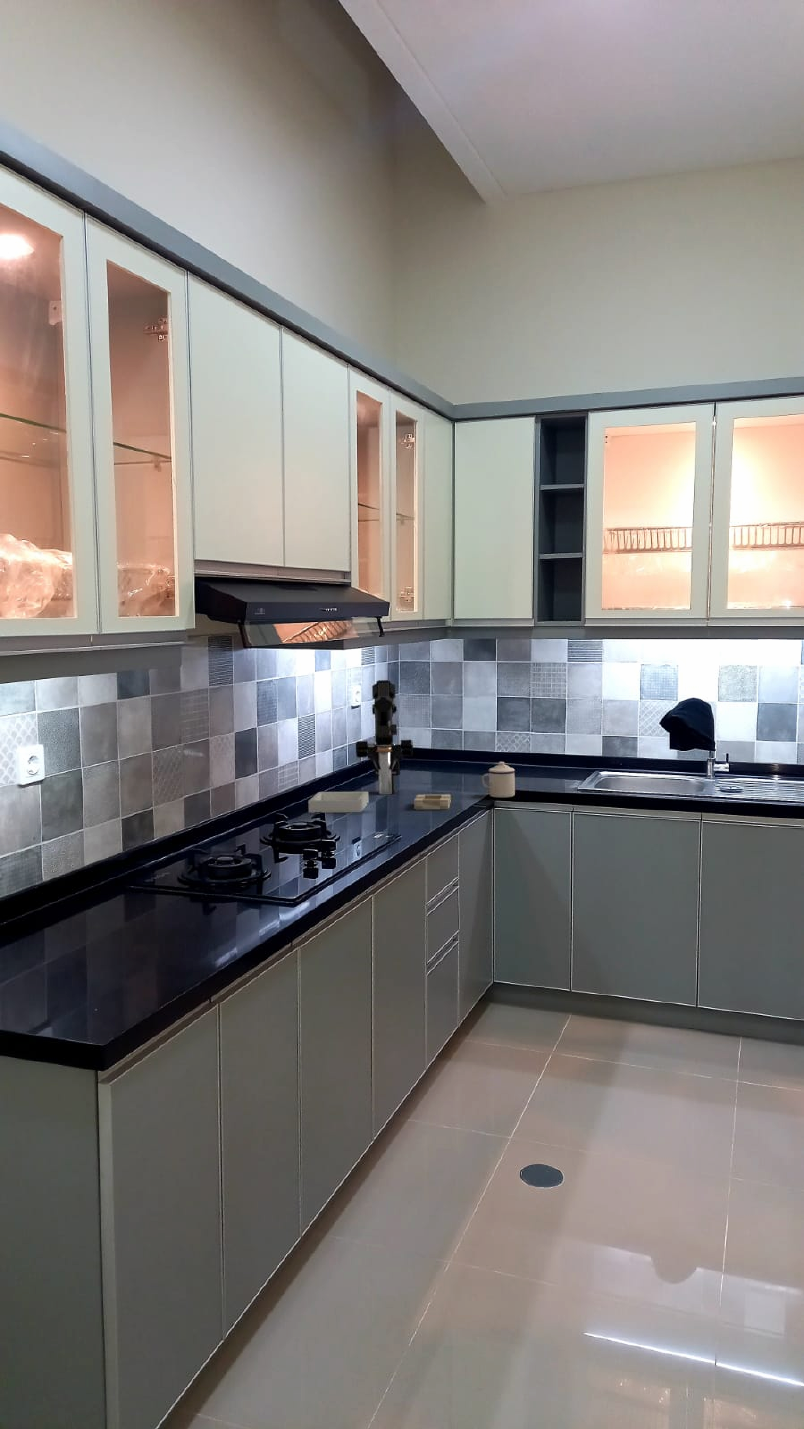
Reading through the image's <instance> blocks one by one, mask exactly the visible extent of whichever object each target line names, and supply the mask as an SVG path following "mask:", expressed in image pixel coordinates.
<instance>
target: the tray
mask: <svg viewBox="0 0 804 1429" xmlns="http://www.w3.org/2000/svg"><path fill="white" fill-rule="evenodd" d="M367 803H368V804H369V791H319V792H317V793H316V794H315V795H313V797H311V798H310V799H309V800H308V813H315V812H322V813H361V812H362V811H363V810H364V809H365V808H366V806H368V804H367Z"/></svg>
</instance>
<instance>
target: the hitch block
mask: <svg viewBox="0 0 804 1429" xmlns="http://www.w3.org/2000/svg"><path fill="white" fill-rule="evenodd" d="M413 801H414V802H413V804H414V806H413V807H414V808H413V809H416V811H417V810H449V808H450V807H451V806H450V805H451V804H450V803H451V794H449V793H444V794H439V793H438V794H436V793H435V794H426V793H425V794H417V795H416V796H415V798H414V800H413Z"/></svg>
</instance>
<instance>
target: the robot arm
mask: <svg viewBox="0 0 804 1429" xmlns="http://www.w3.org/2000/svg"><path fill="white" fill-rule="evenodd" d="M371 690H372V694H371V695H372V700H374V702H373V703H374V704H372V705H371V706H372V707H371V711H372V715H374V719H375V734H374V742H375V743H369V742H368V740H358V741H356V742H355V756H356V758H367V759H368V760H370V761H372V762H373V767H374V772H373V773H374V777H378V778H377V779H378V780H377V781H378V782H379V761H378V751H377V747H383V746H389V747H392V750H391V783H392V793H391V794H395V793H396V792H397V791H398V790H397V789H396V787H395V783H396V782H395V776H397V777H398V776H400V774H401V770H400V768H401V767H400V762H399V759H401V758H402V756H403V757H412V756H413V755H414V744H413V743H414V741H413V740H412V739H400V743H399V744H395V743H394V736H397V735H398V725H397V724H394V723H393V718H394V715H396V713H397V710H398V709H397V706H396V704H395V702H394V699H396V684H393V683H391V680H389V679H380V680H376V683H375V684H373V685H372V686H371ZM376 794H380V792H379V789H378V790H377V791H376Z"/></svg>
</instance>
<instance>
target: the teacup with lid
mask: <svg viewBox="0 0 804 1429" xmlns="http://www.w3.org/2000/svg"><path fill="white" fill-rule="evenodd" d="M515 772H516V769H514V768H513V767H510V766H509V765H507V764H505V762H504V761H499V762H498V764H497V765H495V766H494V767H491V768H489V769H488V773H485V774H484V775H483V776H482V777H481V782H482V784H483V786H484V787H485V788H487V789H489V796H490V797H491V798H492V797H493V798H498V799H499V798H500V799H501V798H512V797H514V796H515V794H516V789H515V788H516V787H515V786H516V784H515V781H516V780H515ZM486 777H488V779H489V785H488V784H487V783H486V780H485V779H486Z"/></svg>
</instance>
